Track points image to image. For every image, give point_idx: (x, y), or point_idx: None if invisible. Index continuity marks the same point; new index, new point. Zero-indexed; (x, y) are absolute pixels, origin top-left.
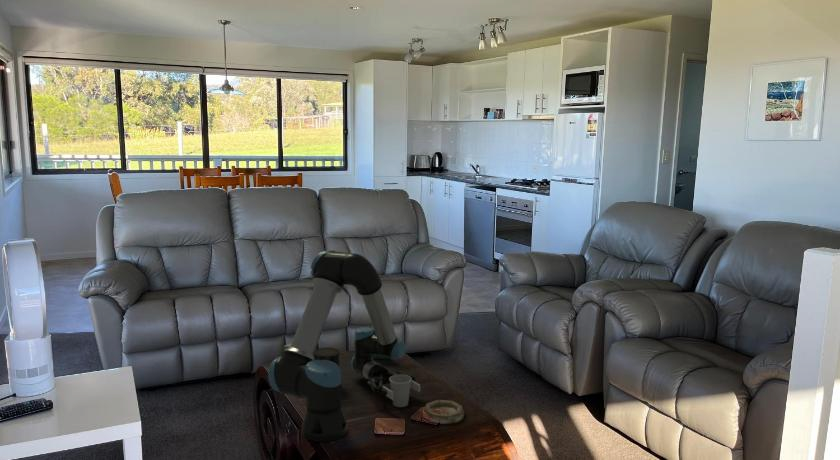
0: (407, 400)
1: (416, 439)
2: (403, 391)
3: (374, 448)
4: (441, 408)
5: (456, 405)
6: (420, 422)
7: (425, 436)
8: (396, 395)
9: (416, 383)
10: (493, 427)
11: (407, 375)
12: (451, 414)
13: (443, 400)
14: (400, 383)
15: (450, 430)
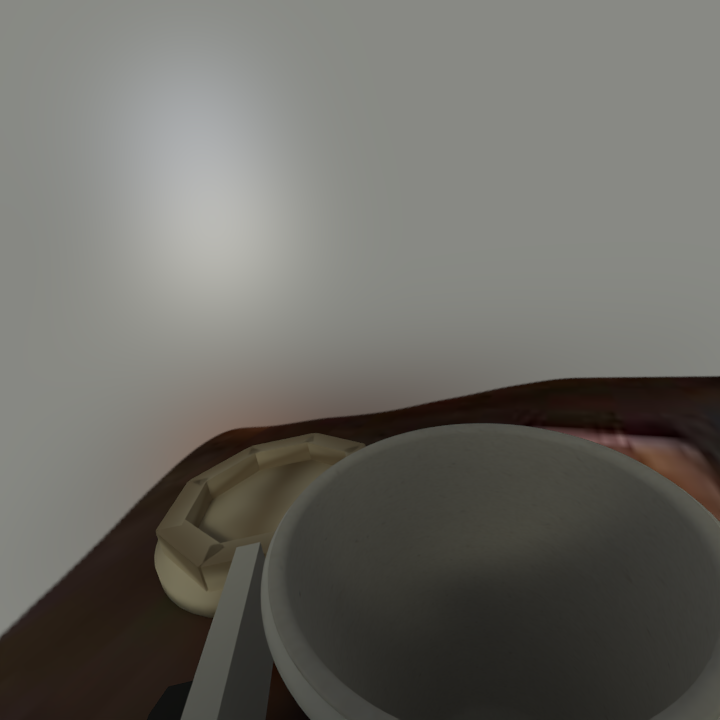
0: (422, 679)
1: (483, 408)
2: (466, 535)
3: (649, 386)
4: (254, 531)
5: (200, 489)
6: None
7: (446, 416)
8: (561, 610)
9: (236, 594)
10: (226, 431)
11: (276, 592)
12: (293, 440)
13: (187, 549)
14: (497, 428)
15: (348, 431)
